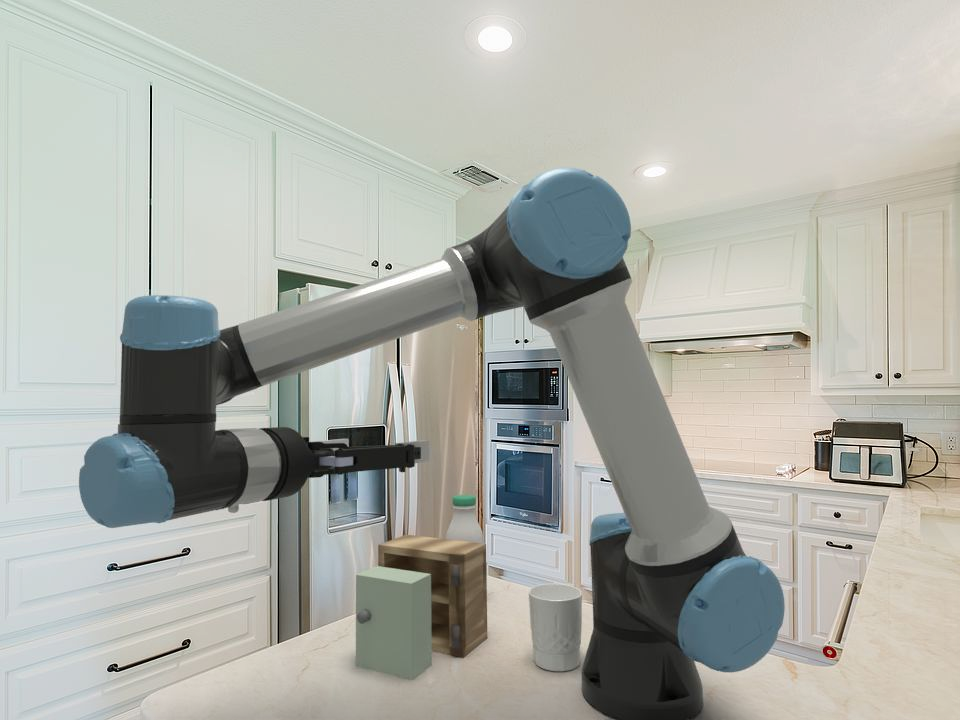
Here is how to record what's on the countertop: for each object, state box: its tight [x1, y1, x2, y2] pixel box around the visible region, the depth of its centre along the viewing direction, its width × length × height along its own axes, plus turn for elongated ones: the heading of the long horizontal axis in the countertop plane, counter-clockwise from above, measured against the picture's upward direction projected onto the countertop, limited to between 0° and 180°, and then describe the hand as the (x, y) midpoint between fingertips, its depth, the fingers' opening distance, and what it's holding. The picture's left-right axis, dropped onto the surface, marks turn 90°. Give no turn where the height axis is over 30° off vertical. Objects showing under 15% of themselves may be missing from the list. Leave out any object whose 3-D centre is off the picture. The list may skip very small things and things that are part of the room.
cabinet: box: [377, 534, 488, 658], centre depth 91 cm, size 16×9×15 cm, turn 62°
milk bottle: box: [445, 494, 485, 544], centre depth 110 cm, size 8×8×20 cm
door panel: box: [355, 565, 433, 681], centre depth 82 cm, size 10×6×13 cm, turn 62°
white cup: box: [528, 582, 583, 672], centre depth 83 cm, size 8×8×10 cm
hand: (385, 449), depth 76 cm, fingers open, 13 cm apart
